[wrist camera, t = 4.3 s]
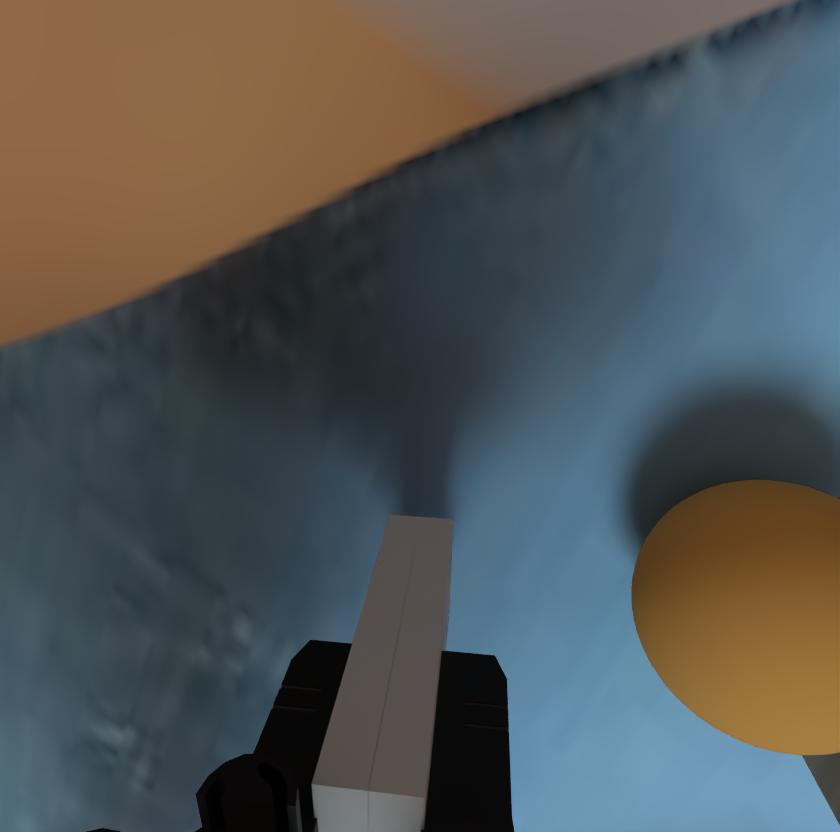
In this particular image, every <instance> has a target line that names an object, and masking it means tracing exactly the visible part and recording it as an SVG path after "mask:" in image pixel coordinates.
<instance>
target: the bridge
mask: <svg viewBox="0 0 840 832" xmlns="http://www.w3.org/2000/svg"><path fill="white" fill-rule="evenodd" d="M802 756H803V758H804V760H805V762H806V764H807V766H808V767H809V769H810V771H811V773H812V775H813V777H814V778H815V780H816V782H817V784H818V786H819V788H820V789H821V791H822V793H823V795H824V797H825V799H826V800H827V802H828V804H829V806H830V808H831V810H832V811H833V813H834V815H835V817H836V819H837V821H838V823H839V824H840V752H839V753H833V754H826V755H802Z"/></svg>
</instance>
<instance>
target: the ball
mask: <svg viewBox="0 0 840 832" xmlns="http://www.w3.org/2000/svg"><path fill="white" fill-rule="evenodd" d="M632 610H633V616H634V621H635V626H636V630H637V633H638V636H639V638H640V641H641V644H642V646H643V649H644V651H645V653H646V655H647V657H648V659H649V661H650V663H651V665H652V666H653V668H654V669H655V671H656V672H657V673H658V675H659V676H660V678H661V679H662V681H663V682H664V683H665V685H666V686H667V687H668V688H669V689H670V691H671V692H672V693H673V694H674V695H675V696H676V697H677V698H678V699H679V700H680V701H681V702H682V703H683V704H684V705H685V706H687V707H688V708H689V709H690V710H691V711H692V712H693V713H695V714H696V715H697V716H698V717H700V718H701V719H703V720H704V721H706V722H707V723H708V724H710V725H711V726H713V727H714V728H716V729H718V730H720V731H722V732H724V733H725V734H727V735H729V736H731V737H733V738H735V739H738V740H740V741H743V742H745V743H748V744H751V745H753V746H756V747H759V748H763V749H767V750H771V751H775V752H780V753H788V754H797V755H826V754H833V753H839V752H840V499H839V498H837V497H834V496H832V495H829V494H827V493H824V492H822V491H819V490H816V489H814V488H811V487H807V486H803V485H799V484H795V483H789V482H782V481H774V480H742V481H735V482H728V483H724V484H720V485H717V486H713V487H710V488H707V489H705V490H702V491H699V492H697V493H695V494H693V495H692V496H690V497H688V498H686V499H684V500H683V501H681V502H680V503H678V504H677V505H675V506H674V507H673V508H672V509H670V510H669V511H668V512H667V513H666V514H665V515H664V516H663V517H662V518H661V519H660V520H659V521H658V522H657V524H656V525H655V526H654V527H653V529H652V530H651V532H650V533H649V535H648V536H647V538H646V539H645V541H644V543H643V545H642V547H641V549H640V552H639V554H638V557H637V560H636V564H635V568H634V573H633V578H632Z"/></svg>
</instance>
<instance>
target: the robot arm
mask: <svg viewBox="0 0 840 832" xmlns="http://www.w3.org/2000/svg"><path fill="white" fill-rule="evenodd" d="M452 538H453V519H443V518H429V517H415V516H402V515H390V516H389V519H388V522H387V526H386V529H385V533H384V536H383V540H382V543H381V547H380V550H379V553H378V557H377V560H376V564H375V567H374V571H373V574H372V578H371V581H370V584H369V588H368V591H367V595H366V598H365V602H364V605H363V609H362V612H361V615H360V619H359V622H358V626H357V629H356V633H355V636H354V640H353V643H352V644H349V643H339V642H328V641H318V640H310V641H309V642H308V643H307V644H306V645H305V646H304V647H303V648H302V649H301V650H300V651H299V652H298V653H297V654H296V655H295V656H294V658H293V659H292V660H291V662H290V665H289V667H288V670H287V672H286V674H285V677H284V679H283V682H282V687H281V689H279V692H278V694H277V697H276V699H275V702H274V706H273V709H271V711H270V714H269V716H268V719H267V721H266V724H265V726H264V729H263V731H262V734H261V736H260V738H259V741H258V743H257V746H256V748H255V751H254V753H253V754H244V755H241V756H239V757H237V758H234V759H232V760H229V761H227V762H225V763H224V764H222V765H221V766H220V767H219V768H218V769H216V770H215V771H214V772H213V773H211V774H210V775H209V776H208V777H207V779H206V780H205V782H204V783H203V784H202V786H201V787H200V789H199V790H198V792H197V793H196V798H197V803H198V808H199V813H200V818H201V823H202V828H200V829H198V830H197V831H195V832H514V827H513V821H512V806H511V779H510V752H509V732H508V728H509V724H508V697H507V678H506V676H505V674H504V672H503V671H502V669H501V667H500V665H499V663H498V661H497V659H496V657H495V656H494V655H483V654H473V653H462V652H452V651H446V643H447V632H448V620H449V607H450V584H451V561H452ZM87 832H120V831H115V830H110V829H104V828H101V829H96V830H92V831H87Z"/></svg>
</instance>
